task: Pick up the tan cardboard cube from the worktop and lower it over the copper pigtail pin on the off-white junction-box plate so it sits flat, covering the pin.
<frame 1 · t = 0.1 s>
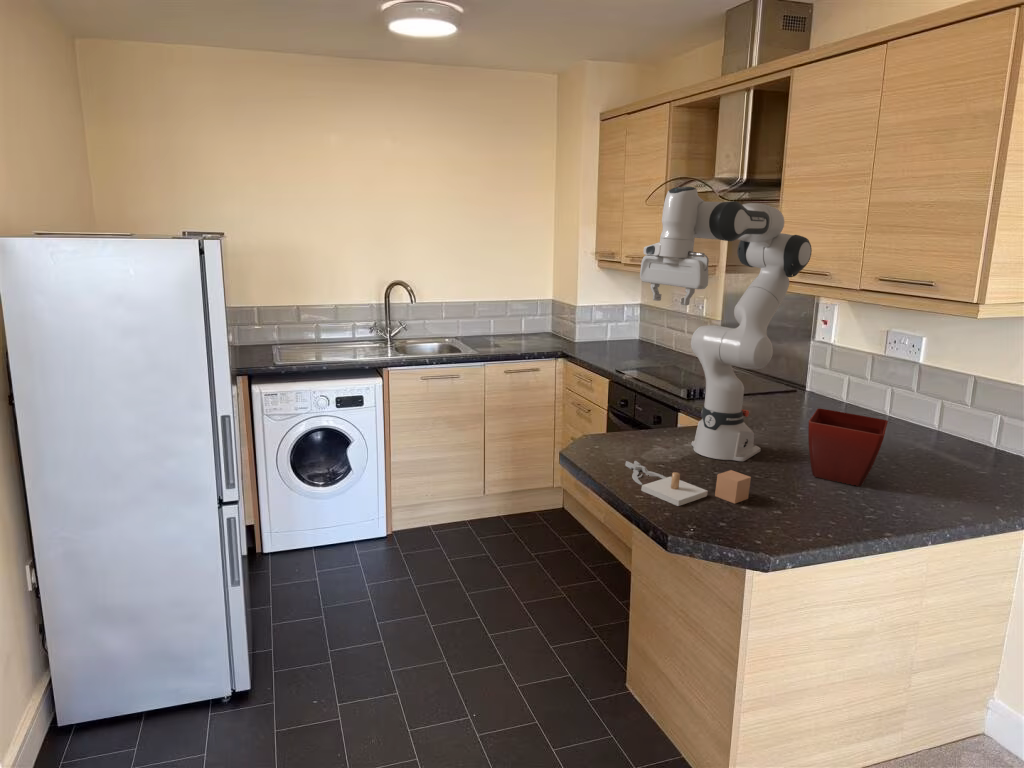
hand: (670, 302, 189), 48 cm above the countertop, fingers open, 8 cm apart
plant pot: (839, 476, 204), on the countertop
pliers: (642, 475, 198), on the countertop
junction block: (674, 493, 185), on the countertop
tan cardboard cube: (731, 497, 184), on the countertop
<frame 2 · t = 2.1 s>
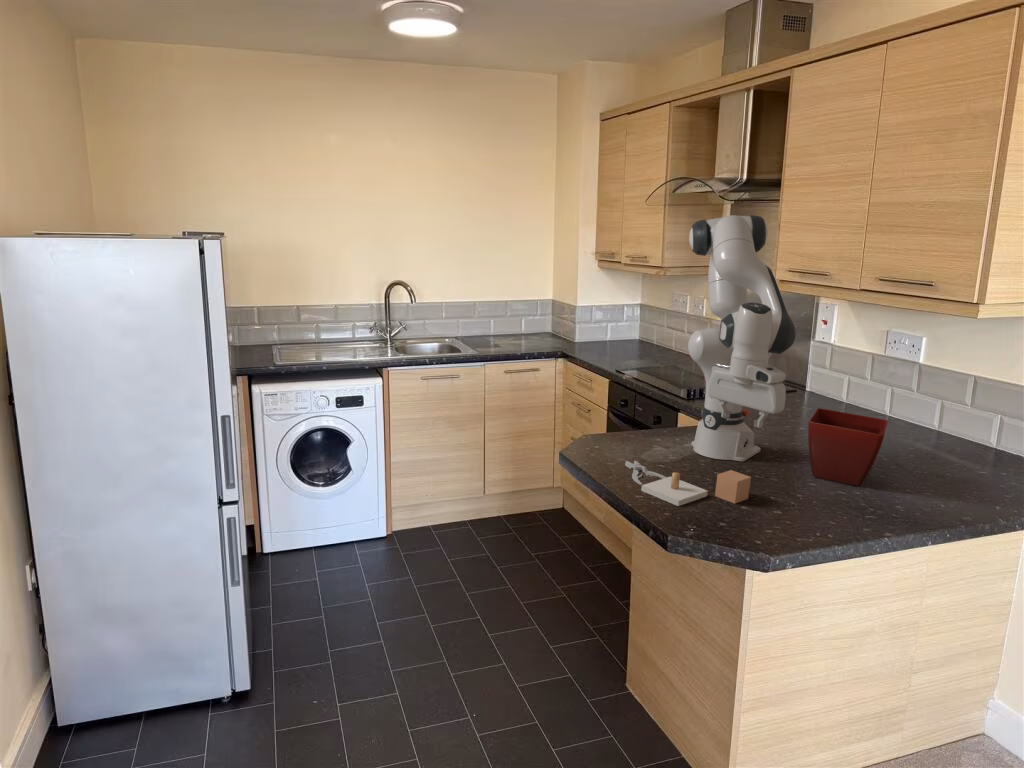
hand: (741, 422, 179), 20 cm above the countertop, fingers open, 8 cm apart
nothing on the countertop moved.
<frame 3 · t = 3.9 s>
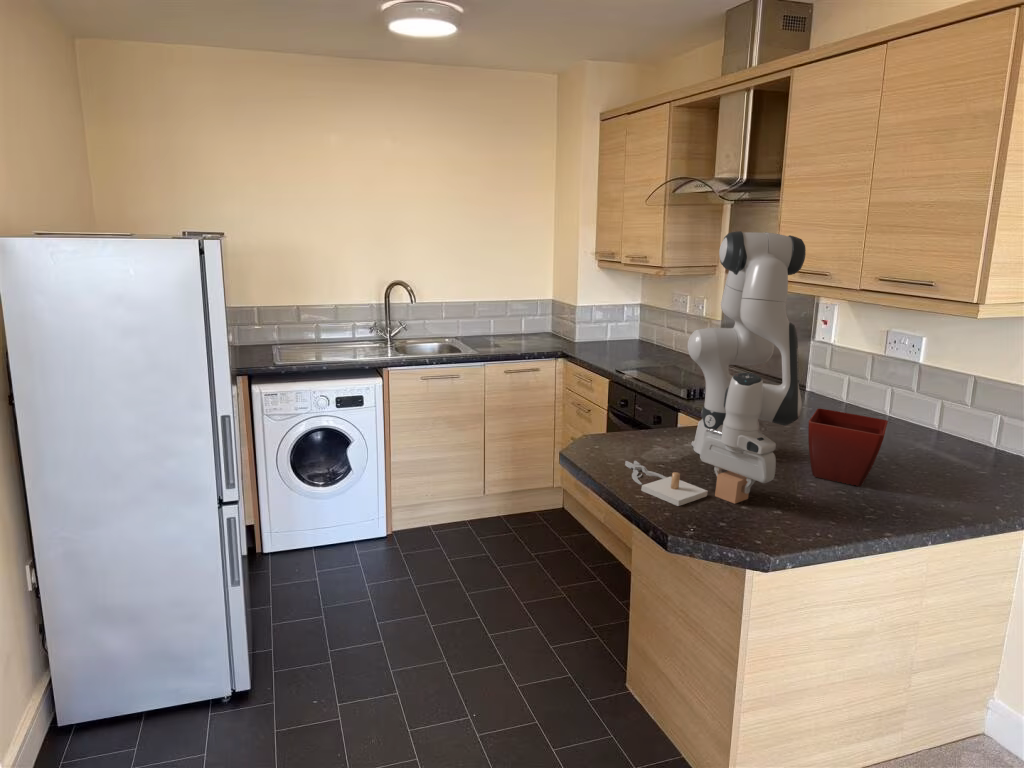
hand: (732, 487, 184), 3 cm above the countertop, fingers closed on tan cardboard cube, 6 cm apart
pliers: (642, 475, 198), on the countertop, touching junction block
tan cardboard cube: (731, 497, 184), on the countertop, touching gripper
everything else where it was.
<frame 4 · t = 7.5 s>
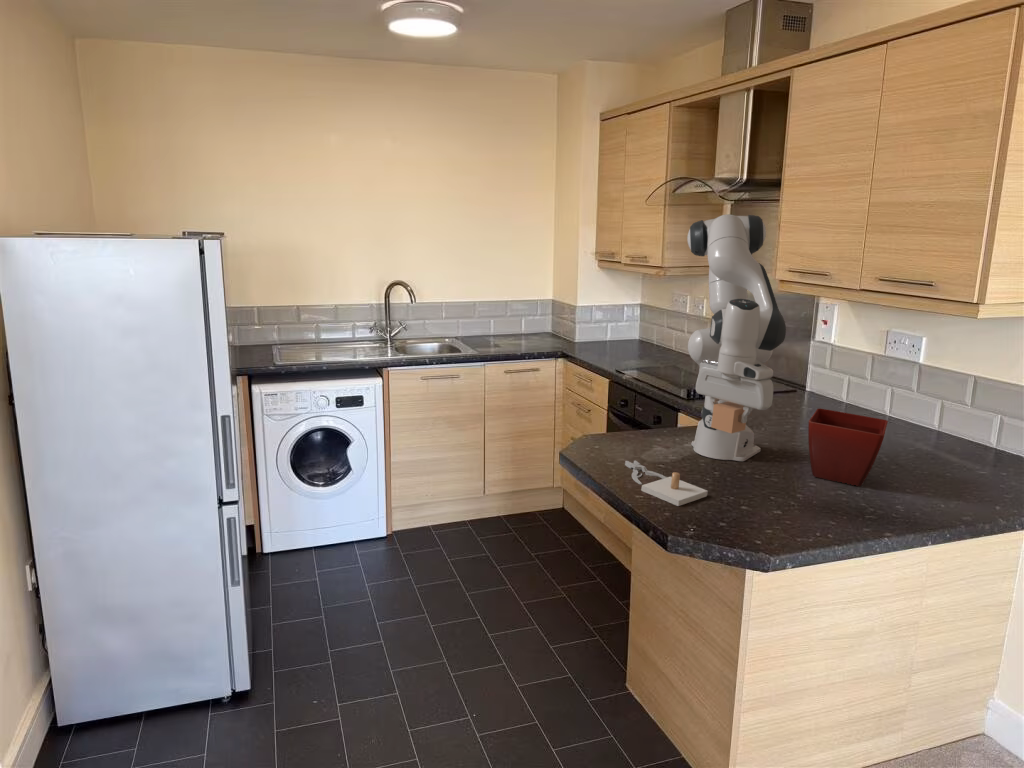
hand: (729, 418, 179), 21 cm above the countertop, fingers closed on tan cardboard cube, 6 cm apart
pliers: (642, 475, 198), on the countertop
tan cardboard cube: (728, 428, 180), point 19 cm above the countertop, touching gripper
everything else where it was.
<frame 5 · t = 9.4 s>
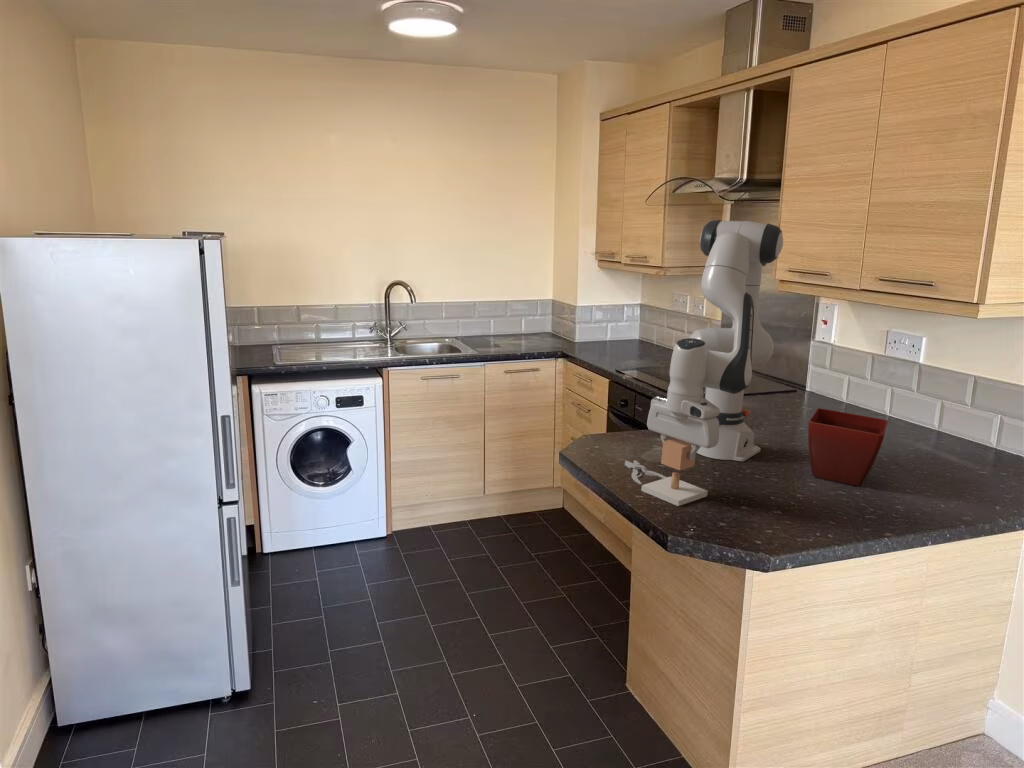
hand: (678, 455, 182), 11 cm above the countertop, fingers closed on tan cardboard cube, 6 cm apart
pliers: (642, 475, 198), on the countertop, touching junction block
tan cardboard cube: (677, 464, 183), point 8 cm above the countertop, touching gripper
everything else where it was.
when the fingers open (5 cm above the countertop, at t = 11.1 s): tan cardboard cube stays where it is, resting on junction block.
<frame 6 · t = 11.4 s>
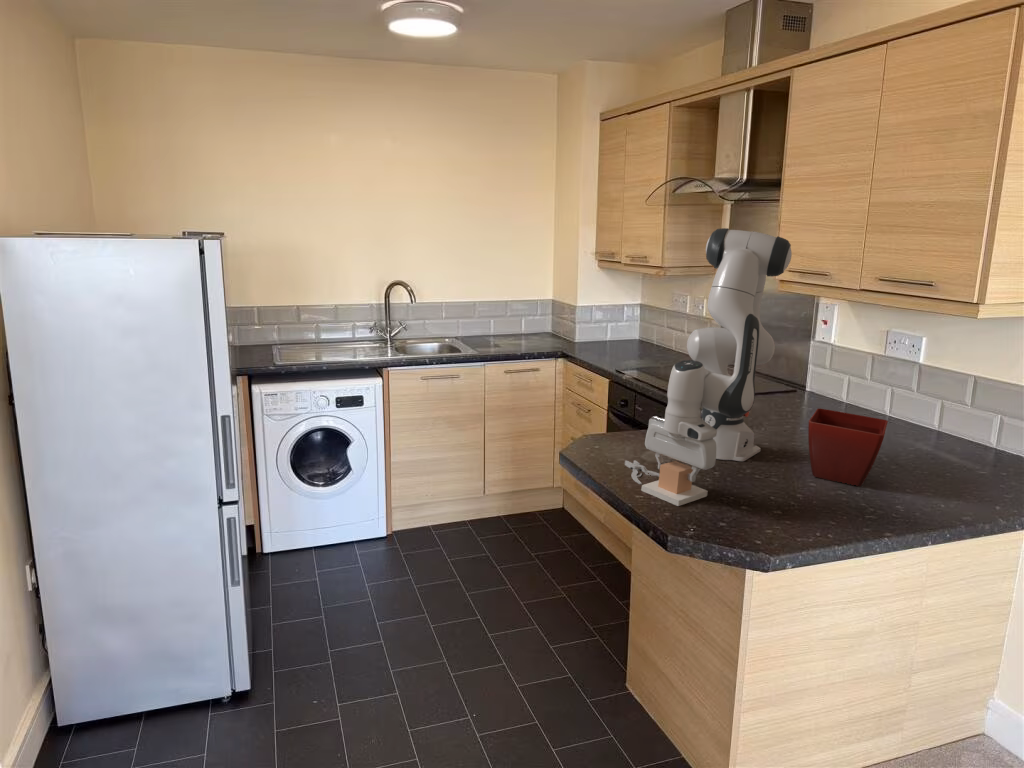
hand: (676, 475, 184), 5 cm above the countertop, fingers open, 8 cm apart
pliers: (642, 475, 198), on the countertop
tan cardboard cube: (674, 487, 184), point 1 cm above the countertop, touching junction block
everything else where it was.
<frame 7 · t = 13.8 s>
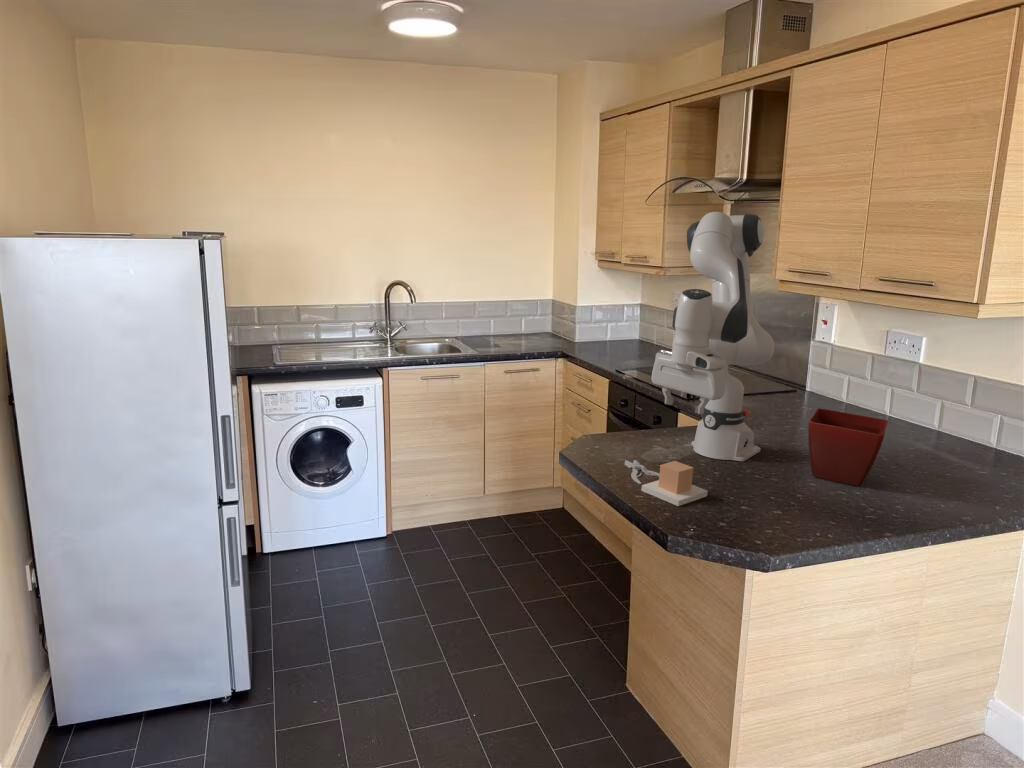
hand: (683, 408, 179), 23 cm above the countertop, fingers open, 8 cm apart
pliers: (641, 475, 199), on the countertop, touching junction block
everything else where it was.
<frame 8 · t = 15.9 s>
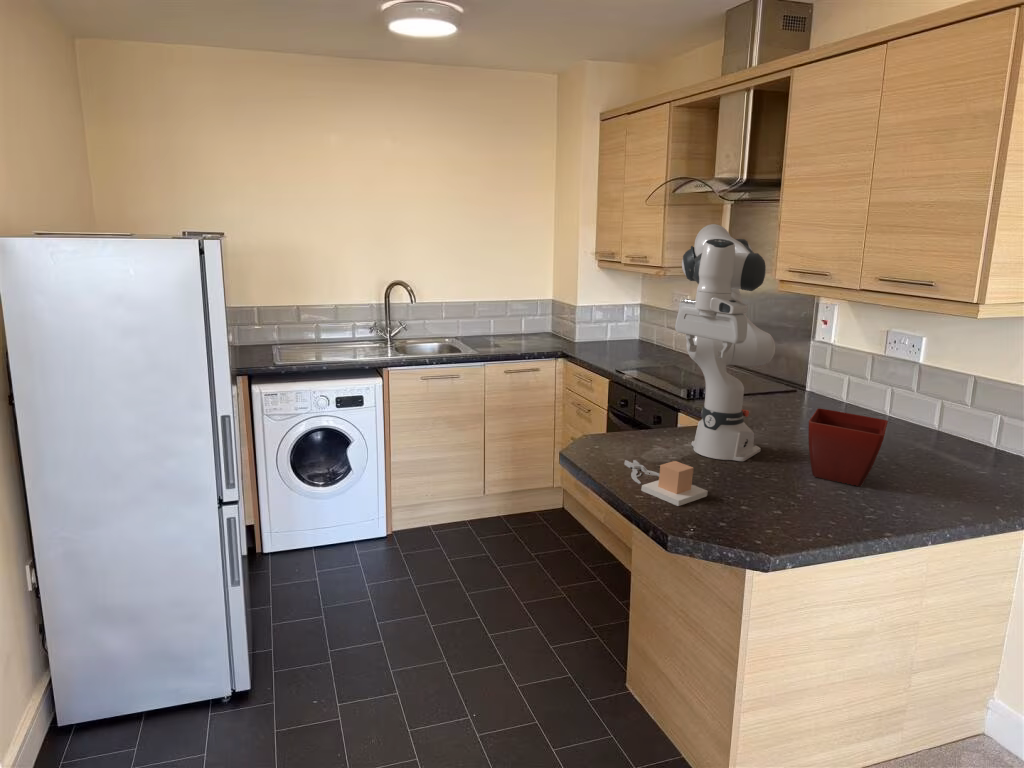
hand: (706, 354, 188), 35 cm above the countertop, fingers open, 8 cm apart
pliers: (641, 474, 199), on the countertop
everything else where it was.
at the end: tan cardboard cube 0.0 cm off-centre on the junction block, point 1.5 cm above the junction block's base; tan cardboard cube tilted 0°; the gripper is holding nothing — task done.
